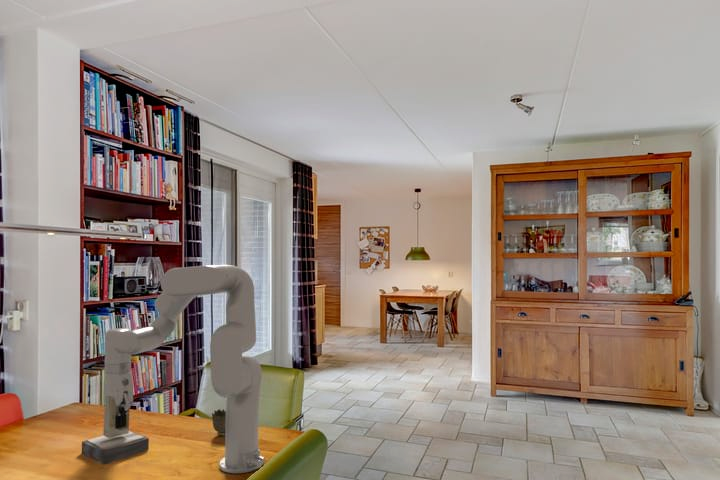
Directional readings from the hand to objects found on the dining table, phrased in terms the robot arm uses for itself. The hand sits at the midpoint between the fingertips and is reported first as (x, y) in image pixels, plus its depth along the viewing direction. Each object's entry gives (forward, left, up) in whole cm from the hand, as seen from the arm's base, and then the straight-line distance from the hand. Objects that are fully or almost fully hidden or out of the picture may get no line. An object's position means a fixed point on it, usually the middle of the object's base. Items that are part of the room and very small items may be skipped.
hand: (116, 425), depth 150 cm
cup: (-16, -29, -8) cm, 34 cm away
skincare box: (0, 0, -3) cm, 3 cm away
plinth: (0, 0, -8) cm, 8 cm away
